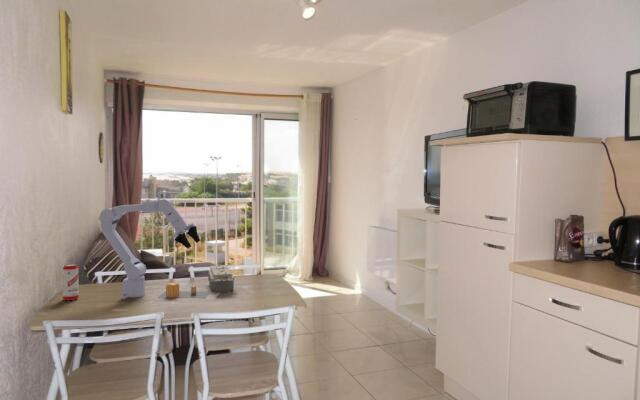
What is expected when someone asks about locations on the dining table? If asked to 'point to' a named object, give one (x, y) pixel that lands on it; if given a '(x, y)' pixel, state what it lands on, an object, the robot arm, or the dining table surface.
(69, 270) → the beer can
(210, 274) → the gray toolbox
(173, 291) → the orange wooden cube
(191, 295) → the wiring board
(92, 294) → the dining table surface
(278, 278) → the dining table surface
